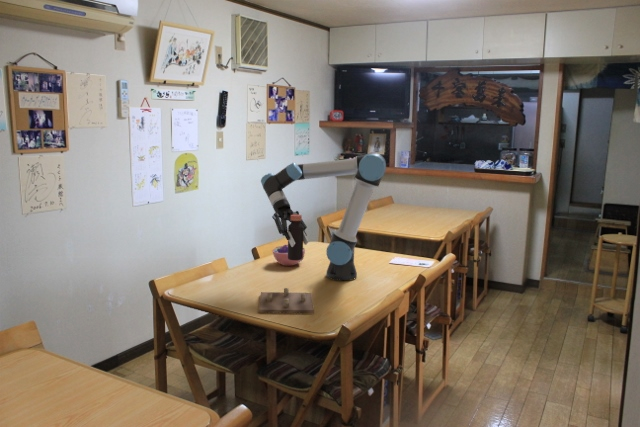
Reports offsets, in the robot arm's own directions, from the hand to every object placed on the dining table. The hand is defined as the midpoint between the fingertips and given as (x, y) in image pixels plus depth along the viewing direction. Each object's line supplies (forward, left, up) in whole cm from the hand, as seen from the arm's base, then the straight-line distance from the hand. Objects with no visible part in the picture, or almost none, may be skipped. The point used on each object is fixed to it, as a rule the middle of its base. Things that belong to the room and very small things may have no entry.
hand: (300, 244), depth 239 cm
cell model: (+4, -47, -22) cm, 52 cm away
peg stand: (+6, +17, -22) cm, 29 cm away
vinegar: (+2, -3, -8) cm, 9 cm away
